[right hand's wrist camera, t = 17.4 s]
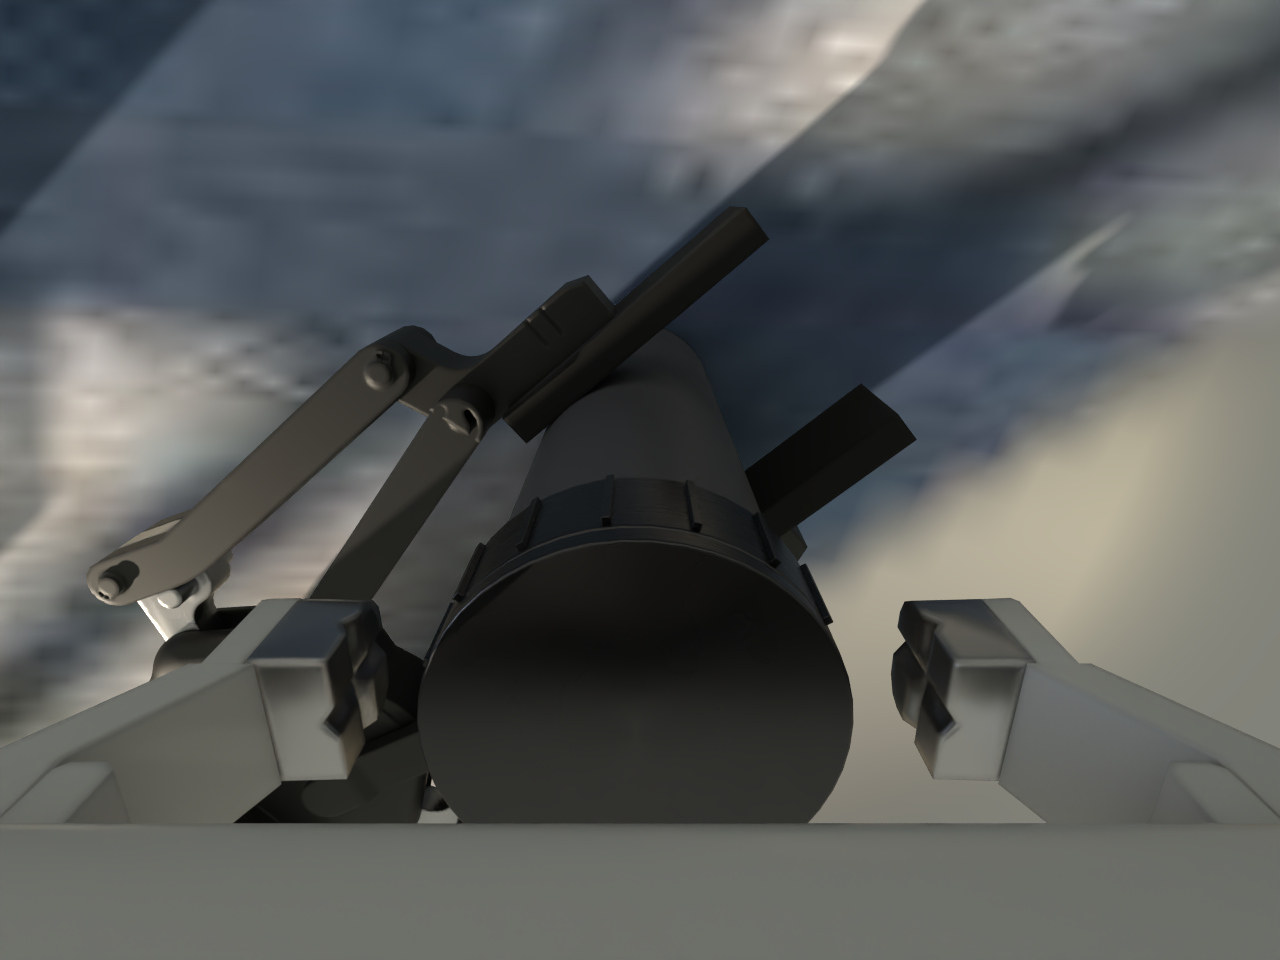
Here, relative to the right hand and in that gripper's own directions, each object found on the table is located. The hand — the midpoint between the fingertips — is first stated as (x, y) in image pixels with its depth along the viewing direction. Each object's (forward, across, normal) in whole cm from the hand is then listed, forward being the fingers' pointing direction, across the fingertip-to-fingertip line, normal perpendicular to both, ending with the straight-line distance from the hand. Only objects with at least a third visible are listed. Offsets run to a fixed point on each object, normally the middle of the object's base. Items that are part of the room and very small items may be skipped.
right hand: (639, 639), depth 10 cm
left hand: (+7, -4, -3) cm, 9 cm away
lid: (-2, 0, 0) cm, 2 cm away
